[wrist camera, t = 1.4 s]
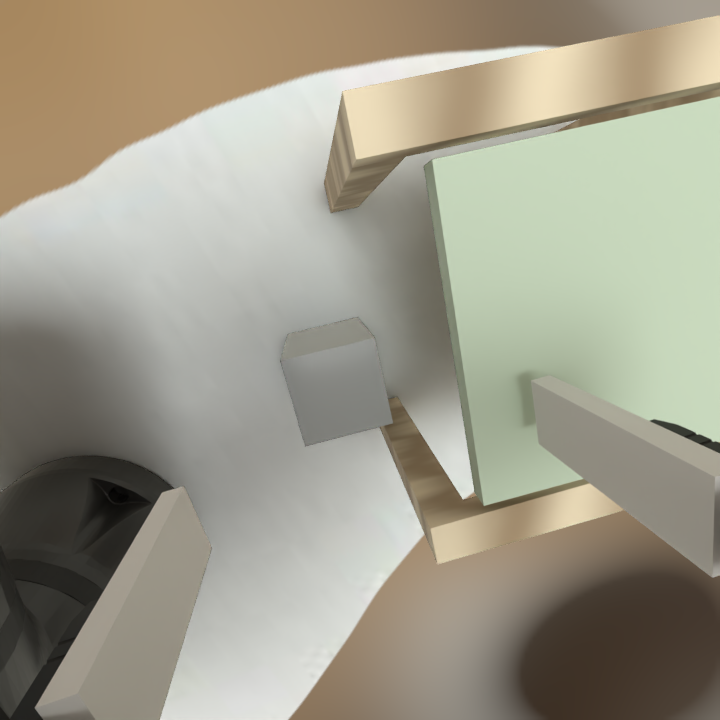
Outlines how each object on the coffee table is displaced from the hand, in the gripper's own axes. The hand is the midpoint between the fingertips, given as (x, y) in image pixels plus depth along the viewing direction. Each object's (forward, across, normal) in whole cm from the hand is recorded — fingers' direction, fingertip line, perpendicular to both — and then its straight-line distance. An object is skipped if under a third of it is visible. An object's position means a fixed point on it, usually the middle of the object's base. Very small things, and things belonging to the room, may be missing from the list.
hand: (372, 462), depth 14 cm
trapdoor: (+5, +12, +2) cm, 13 cm away
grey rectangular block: (+13, 0, 0) cm, 13 cm away
